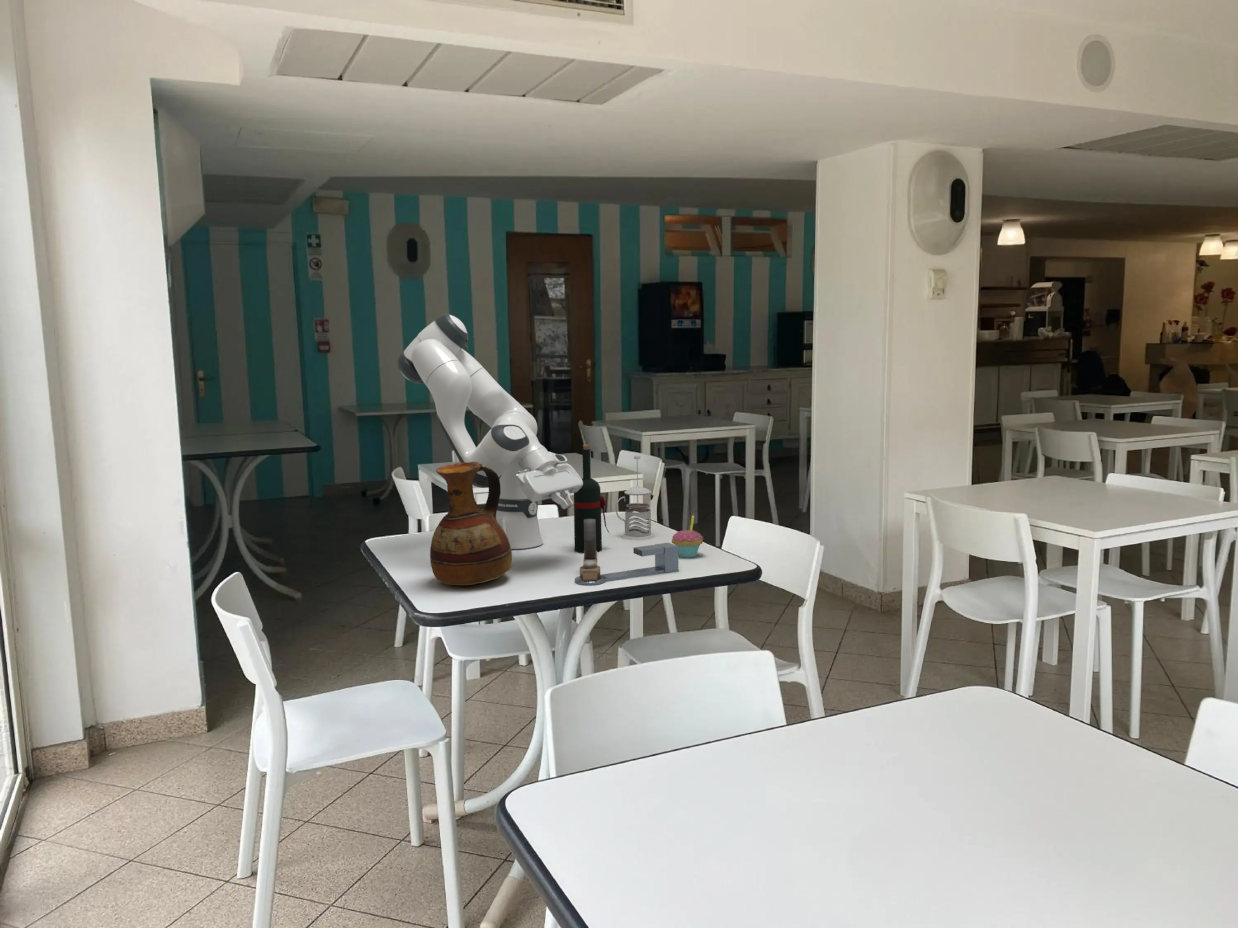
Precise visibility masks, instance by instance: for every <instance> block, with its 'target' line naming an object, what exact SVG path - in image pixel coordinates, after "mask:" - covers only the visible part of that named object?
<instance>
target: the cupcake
mask: <svg viewBox="0 0 1238 928" xmlns="http://www.w3.org/2000/svg"><path fill="white" fill-rule="evenodd" d="M694 520H695V513H692V515H691V520H690V526H689V527H690V528H689V529H686V530H685V529H684V530H679V531H677V532H675V533H674V534H673V535H672V538H671V544H674V545H677V546H678V557H681V558H685V559H686V558H688V559H689V558H694V557H697V555H698V552H699V550H700V549H699V548H700V546H701V544H703V543H704V542H703V540H704V537H703V536H702V534H701V533H699V532H698V531H695V530H693V527H694V522H695V521H694Z"/></svg>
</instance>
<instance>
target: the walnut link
mask: <svg viewBox="0 0 1238 928" xmlns="http://www.w3.org/2000/svg"><path fill="white" fill-rule="evenodd" d="M582 560H583V562H582V566H580V567H579V576H580V578H581V579H583V581H590V580H597V579H599V578H600V575H601V566H600V565H598V552H597V551H596V520H595V519H584V553H583V559H582Z"/></svg>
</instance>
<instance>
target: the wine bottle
mask: <svg viewBox="0 0 1238 928" xmlns="http://www.w3.org/2000/svg"><path fill="white" fill-rule="evenodd" d="M582 447H583V448H582V449H581V450H582V451H581V452H582V477H581V479H582V481H583V486H582V487H581V488H580V489H579V490H578V491H577V492H575V493H573V503H574V505H573V528H574V531H573V532H574V542H573V543H574V552H575V553H576V552H577V553H578V554H579V553H581V554H584V519H595V520H596V551H597V553H599V552H602V551H603V543H602V542H603V540H602V539H603V538H602V537H603V536H602V534H603V533H602V516H603V520H604V521H603V522H604V526H605V529H606V531H607V533H608V534H609V535H610V531H609V529H608V528H607V522H606V515H605V507H606V505H607V504H606V500H605V496H603V494H601V486H600V483H598V481H597V480H596V479H594V478H592V477H591V475H592V473H591V472H592V471H591V449H590V444H582ZM602 514H603V515H602Z"/></svg>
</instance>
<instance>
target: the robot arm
mask: <svg viewBox="0 0 1238 928" xmlns="http://www.w3.org/2000/svg"><path fill="white" fill-rule="evenodd" d="M468 342H469V332H468V330H467V328H466V326H465V324H464V322H462V321H461V320H460V319H459V318H458V317H456V316H455V315H452V314H451V313H447V312H446V313H442V314H440V315H439V316H437V317H436V318H434V321H432V322H431V323H430V324H428V325H427V326H426V327H424V328H423V329H422V330H421V331H420V332H419V333H418V334H417V335H416V337H415V338H414V339H413V340H412V341H411V342H410V343H409V344H408V346H407V347H406V348H405V349H404V350H403V351H401V353H400V354H399V356H398V357H397V360H396V363H397V364H396V365H397V368H398V369H399V371H400V373H401V374H402V376H403V377H404V378H405V379H407V380H408V381H410V382H412V383H413V384H415V385H417V384H418V385H419V384H424V385H425V386H426V387H427V389H428V390H429V391H430V394H431V397H432V399H433V402H434V404H435V409H436V411H435V414H436V418H437V419H436V420H437V422H438V424H439V426H440V428H441V430H442V431H443V432H442V433H444V436H445V437H446V439H447V441H448V443H449V444H450V446H451V448H452V450H453V451H454V453H455V455H456V457H457V459H458V461H459V463H465V462H478V463H480V464H482V465H485V466H488V467H490V468H491V469H493V470H494V471H495V472H496V473H497V475H498V477H499V480H500V489H501V494H500V498H499V503H498V508H497V512H496V520H497V522H498V523H499V524H500V526H501V527H502V528H503V530H504V531H505V533H506V535H507V537H508V540H509V543H510V547H511V550H520V549H531V548H535V547H538V546H541V545H543V544H544V542H543V538H542V535H541V531H540V526H539V519H538V510H539V509H538V508H539V502H540V501H544V500H549V499H551V501H553V502H555V503H556V504H558V505H560V507H561V509H563V510H566V509H571V508H572V507H574V501H573V500H572V499H571V498H572V497H571V494H574V493H575V492H577V491H578V490H579V489H580V488H581V487H582V486H583V481H582V477H581V476H580V474H579V473H578V472H577V471H576V470H575V468H574V466H572V465H571V464H569V463H568V458H567V457H566V456H565V455H562V454H558V453H554V452H551V451H548V449H547V448H546V447H545V446H544V445H542V444H541V443H540V441H539V439H538V436H537V434H538V423H537V421H536V418H535V417H534V416H533V415H532V414H531V413H530V412H528V410H527V409H526V408H524V406H523V405H521V404H520V402H519V401H517V400H516V399H515V398H514V397H513V396H512V395H511V394H509V393H508V392H507V391H506V390H505V389H504V388H503V387H502V386H501V385H500V384H499V383H498V382H497V381H496V379H494V378H493V377H492V375H491V374H490V373H489V372H488V371H487V370H486V369H485V367H484V366H482V364H481V363H480V362H479V361H477V359H476V358H475V357H473V356H472V355H471V354H470V353H469V352H467V350H468V349H469V346H468ZM467 408H468V409H469V411H471V412H472V414H473V415H475V416H477V417H478V418H479V419H481V421H483V422H484V423H485V424H486V425H488V427H490V429H489V431H488V432H487V433H486V434H485V436H483V438H482V440H481V441H480V443H478V445H477V446H476V445H475V443H474V441H473V439H472V437H471V435H470V433H469V432H468V430H467V428H466V425H465V415H466V412H467V411H466V410H467ZM473 487H477V488H482V489H489V486H488V479H487V476H486V474H485V472H484V471H479V472H477V473H476V474H475V476H474V479H473Z"/></svg>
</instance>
